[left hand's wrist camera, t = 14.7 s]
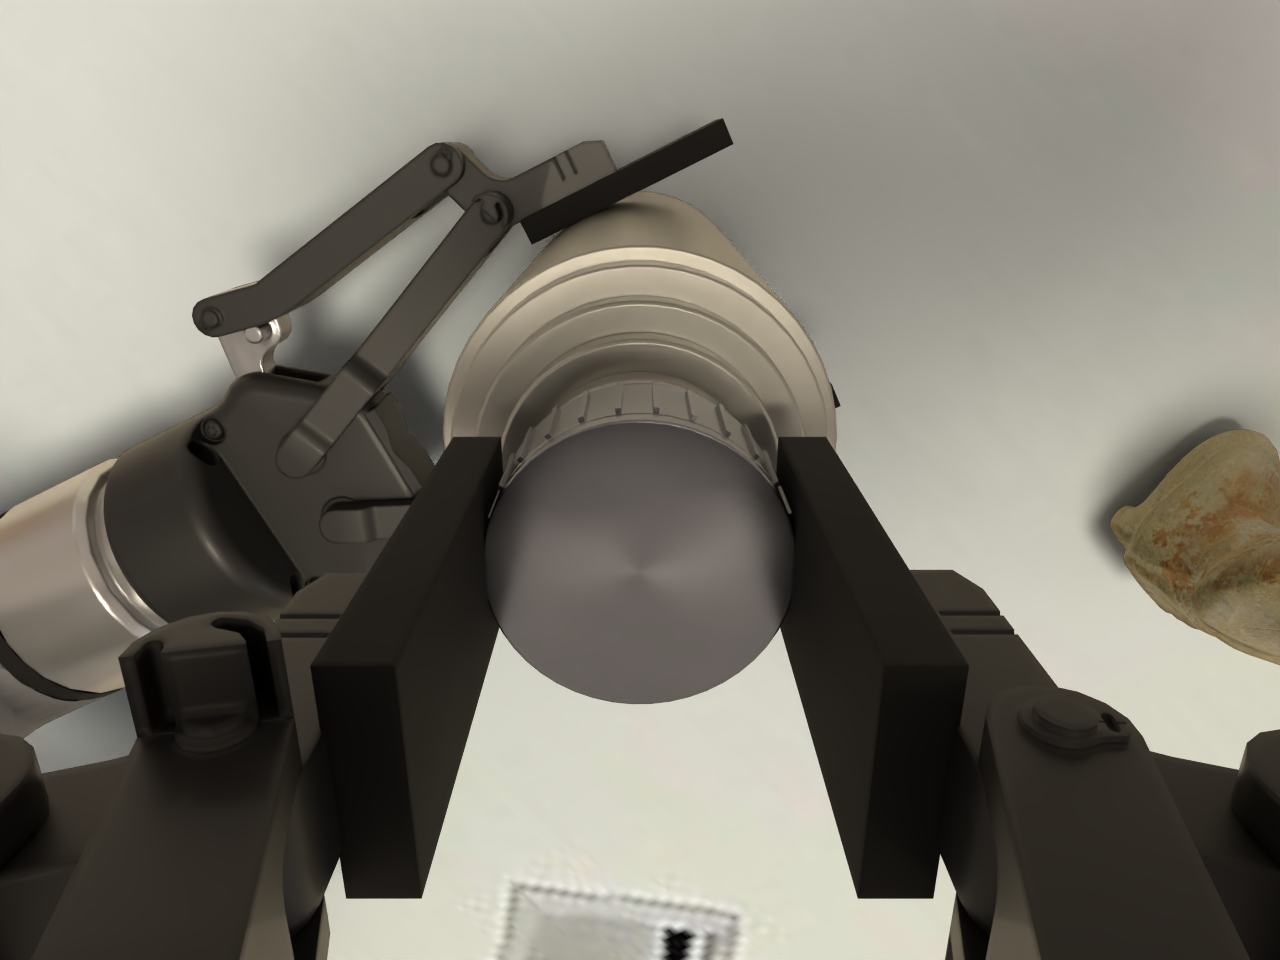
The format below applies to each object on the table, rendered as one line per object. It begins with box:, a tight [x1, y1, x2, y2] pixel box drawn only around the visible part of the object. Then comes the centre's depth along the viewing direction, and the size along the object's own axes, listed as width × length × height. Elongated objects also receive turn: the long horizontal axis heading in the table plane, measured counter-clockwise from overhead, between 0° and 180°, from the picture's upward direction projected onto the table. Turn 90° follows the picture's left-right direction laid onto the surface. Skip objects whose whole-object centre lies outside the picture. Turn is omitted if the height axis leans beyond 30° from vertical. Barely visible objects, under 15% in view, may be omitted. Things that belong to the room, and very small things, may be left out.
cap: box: [484, 382, 795, 704], centre depth 13 cm, size 5×5×2 cm
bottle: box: [443, 192, 837, 472], centre depth 24 cm, size 8×8×23 cm
